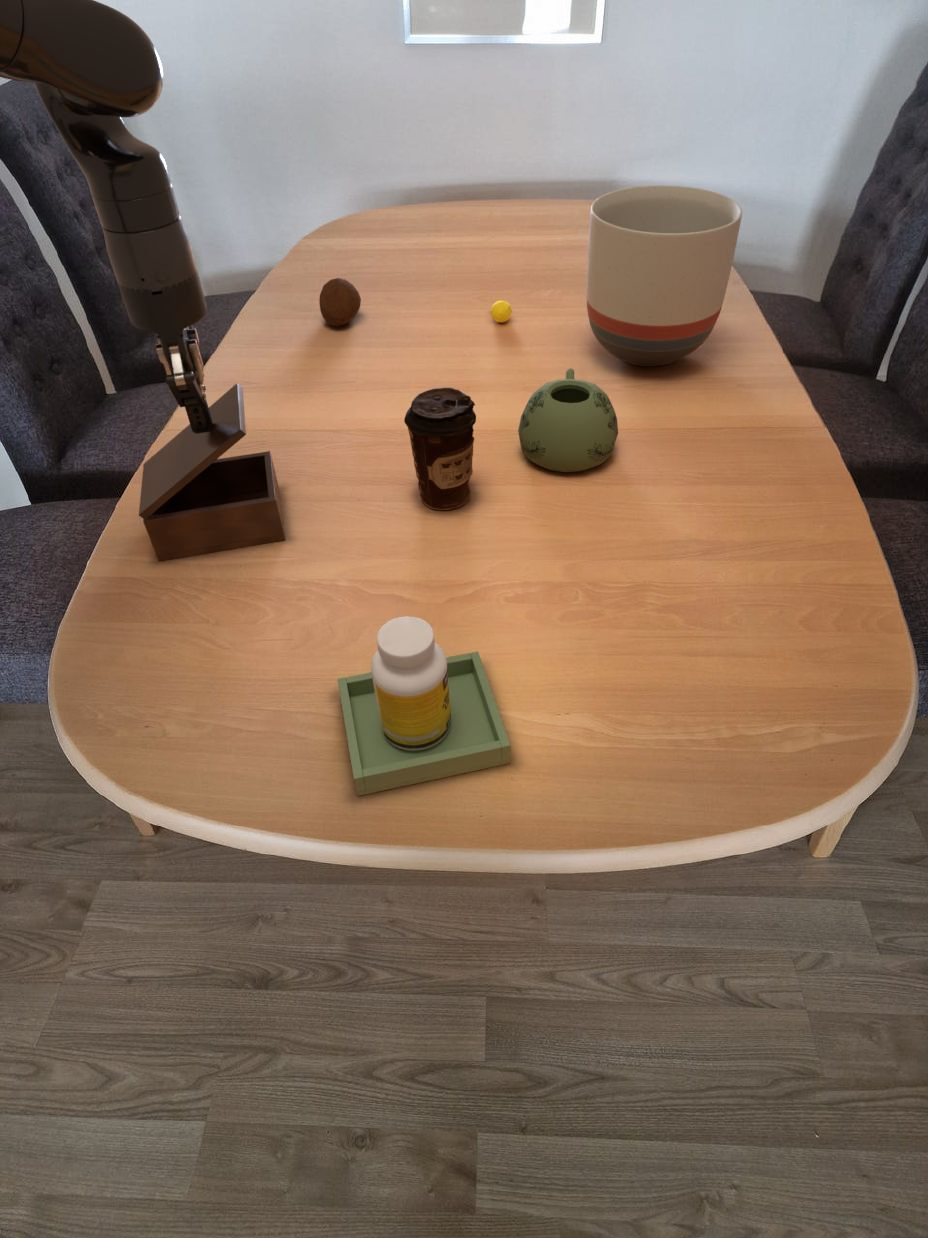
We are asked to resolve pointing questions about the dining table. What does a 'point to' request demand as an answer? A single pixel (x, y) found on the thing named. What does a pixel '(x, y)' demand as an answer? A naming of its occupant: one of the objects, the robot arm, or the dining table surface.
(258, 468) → the brown wooden box
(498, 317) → the yellow rounded lump
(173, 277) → the robot arm
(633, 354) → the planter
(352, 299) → the potato
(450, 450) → the coffee cup
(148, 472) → the lid
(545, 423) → the green ceramic domed vessel
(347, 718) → the tray
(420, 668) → the pill bottle
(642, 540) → the dining table surface
